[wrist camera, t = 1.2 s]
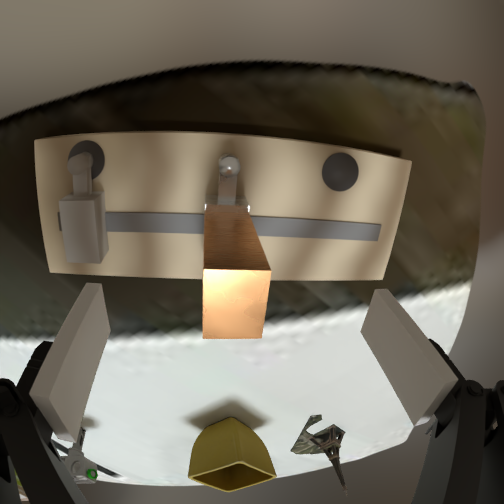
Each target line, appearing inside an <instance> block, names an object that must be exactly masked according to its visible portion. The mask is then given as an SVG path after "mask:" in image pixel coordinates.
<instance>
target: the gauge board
mask: <svg viewBox="0 0 504 504" xmlns="http://www.w3.org/2000/svg"><path fill="white" fill-rule="evenodd" d="M34 145H35V169H36V183H37V194H38V204H39V212H40V219H41V226H42V233H43V239H44V245H45V250H46V256H47V261H48V265H49V270H50V273H67V274H85V275H106V276H128V277H154V278H186V279H203V235H204V211H205V194H207V195H218V183H219V164H218V161H219V158H220V156H222V155H223V154H225V153H231V154H233V155H235V156H236V157H238V159H239V163H240V171H239V173H238V174H237V185H236V196H246V199H247V201H248V203H249V206H250V208H249V214H250V217H251V219H252V222H253V225H254V227H255V230H256V232H257V235H258V237H259V240H260V242H261V245H262V248H263V250H264V253H265V255H266V258H267V261H268V263H269V266H270V268H271V278H270V280H382V279H383V276H384V273H385V270H386V266H387V263H388V260H389V256H390V253H391V249H392V246H393V242H394V238H395V234H396V231H397V227H398V223H399V219H400V215H401V211H402V206H403V202H404V198H405V193H406V188H407V184H408V179H409V174H410V169H411V163H412V161H409V160H406V159H403V158H400V157H396V156H391V155H386V154H382V153H377V152H372V151H367V150H361V149H356V148H350V147H344V146H338V145H332V144H325V143H319V142H312V141H304V140H296V139H288V138H279V137H269V136H259V135H247V134H234V133H217V132H193V131H126V132H103V133H87V134H74V135H63V136H54V137H45V138H41V139H37V140H34Z"/></svg>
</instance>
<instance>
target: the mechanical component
mask: <svg viewBox="0 0 504 504" xmlns="http://www.w3.org/2000/svg"><path fill="white" fill-rule="evenodd" d="M85 432H86V431H82V428H81V427H80V430H79V434H78V438H77V442H76V443H74V442H73V446H72V448H69V449H68V450H69V453H68V456H60V457H61V459H62V461H63V462H64V464H65V466H66V468H67V470H68V471H69V473H70V475H71V476H72V478H73V480H74V481H75V483H96V478H97V476H98V474H97V465H96V464H95V463H93V462H92V461H90V460H89V459H87V458H86V457H84V453H83V452H82V446H83V441H84V436H85ZM86 479H87V480H86Z"/></svg>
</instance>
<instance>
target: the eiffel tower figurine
mask: <svg viewBox="0 0 504 504" xmlns="http://www.w3.org/2000/svg"><path fill="white" fill-rule="evenodd" d="M320 420H322V415H315V416H310V418H309V420H308V422H307V424H306V425H305V427H304V429H303V430H302V432H301V434H300V436H299V438H298V440H297V441H296V443H295V445H294V446H293V448H292V449H291V451H292V452H294V453H295V454H309V453H310V454H318V453H325V454H326V455H327V456H328V458H329V460H330V461H331V463H332V464H333V466H334V468H335V470H336V473H337V475H338V477H339V479H340V482H341V484H342V487H343V491H345V492H346V491H347V487H346V486H345V482H344V479H343V475H342V471H341V466H340V461H339V458H340V457H339V448H340V447H341V445H340V444H341V441H342V438H343V435H344V434H345V433H346V432H344V431H343V430H341V429H340V428H339V427H337V426H336V425H334V424H333V425H331V426H329V427H328V428H326V429H324V430H322V431H320V432H318V433H316V434H314V435H313V434H310V433H308V432H307V431H306V429H308V428H309V427H310V426H311V425H313V424H315V423H317V422H319V421H320ZM338 436H339V437H338ZM336 437H338V439H336ZM331 452H333V454H332V453H331ZM346 494H347V493H346Z"/></svg>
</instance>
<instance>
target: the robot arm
mask: <svg viewBox="0 0 504 504" xmlns="http://www.w3.org/2000/svg"><path fill="white" fill-rule="evenodd" d="M360 332H361V334H362V335H363V337H364V339H365V340H366V342H367V344H368V345H369V347H370V349H371V350H372V352H373V354H374V356H375V357H376V359H377V361H378V362H379V364H380V366H381V368H382V369H383V371H384V373H385V375H386V376H387V378H388V380H389V382H390V383H391V385H392V387H393V389H394V390H395V392H396V394H397V396H398V398H399V399H400V401H401V403H402V405H403V407H404V409H405V410H406V412H407V414H408V416H409V418H410V420H411V422H412V423H413V425H414V426H416V425H420V424H423V423H426V422H427V421H428V420H429V419H430V418H431V417H432V415H433V414H435V416H436V418H437V419H436V420H435V421H434V422H433V424H432V425H431V426H430V427H429V428H428V430H427V431H426V433H425V434H428V433H429V432H430V431H431V430H432V433H431V435H430V436H431V437H430V442H429V446H428V450H427V454H426V458H425V462H424V465H423V469H422V472H421V476H420V479H419V482H418V485H417V488H416V491H415V494H414V497H413V500H412V503H411V504H504V380H500V381H498V382H497V383H496V385H495V386H494V388H493V389H484V388H483V387H482V386H481V385H480V384H479V383H478V382H476V381H473V380H465V378H464V377H463V376H462V374H461V373H460V372H459V371H458V369H457V368H456V366H455V365H454V364H453V363H452V361H451V360H449V357H448V356H447V354H445V352H444V351H443V349H442V348H441V347H440V346H439V345H438V344H437V343H436V342H434V341H433V340H432V339H428V338H427V337H426V336H425V335H424V333H423V332H422V331H421V329H420V328H419V327H418V326H417V324H416V323H415V322H414V321H413V319H412V318H411V317H410V316H409V315H408V313H407V312H406V311H405V310H404V308H403V307H402V306H401V305H400V304H399V302H398V301H397V300H396V299H395V298H394V296H393V295H392V294H391V293H390V292H389V291H388V289H375V291H374V294H373V297H372V300H371V303H370V306H369V309H368V312H367V315H366V318H365V320H364V323H363V326H362V329H361V331H360ZM109 333H110V326H109V321H108V316H107V311H106V306H105V301H104V295H103V290H102V284H98V283H86V285H85V286H84V288H83V290H82V291H81V293H80V295H79V297H78V298H77V300H76V302H75V303H74V305H73V307H72V309H71V310H70V312H69V314H68V316H67V318H66V319H65V321H64V323H63V325H62V327H61V329H60V331H59V332H58V334H57V336H56V338H55V340H54V342H49V341H43V342H42V343H41V344H40V345H39V346H38V347H37V348H36V349H35V350H34V352H33V354H32V356H31V360H29V362H28V364H27V367H26V368H25V370H24V372H23V374H22V376H21V378H20V380H19V382H18V384H17V386H15V385H14V383H13V382H12V381H11V380H9V379H5V378H1V379H0V504H22V503H21V499H20V494H19V490H18V485H17V480H16V475H15V471H16V473H17V476H18V478H19V480H20V483H21V485H22V487H23V489H24V491H25V494H26V496H27V498H28V500H29V502H30V504H89V503H88V502H87V500H86V499H85V497H84V496H83V494H82V493H81V491H80V489H79V488H78V486H77V485H76V483H75V481H74V480H73V478H72V476H71V475H70V473H69V471H68V470H67V468H66V466H65V464H64V462H63V461H62V459H61V457H60V455H59V453H58V451H57V449H56V447H55V445H54V443H53V442H52V441H51V436H52V433H53V432H54V433H55V435H56V436H57V438H58V439H61V440H65V441H69V442H74V443H76V442H77V438H78V434H79V430H80V426H81V423H82V419H83V415H84V411H85V408H86V404H87V401H88V398H89V394H90V391H91V387H92V384H93V381H94V378H95V375H96V372H97V368H98V365H99V362H100V359H101V356H102V353H103V350H104V348H105V345H106V342H107V339H108V336H109ZM496 421H497V424H498V426H497V427H496V429H493V424H494V423H495V422H496Z"/></svg>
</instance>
